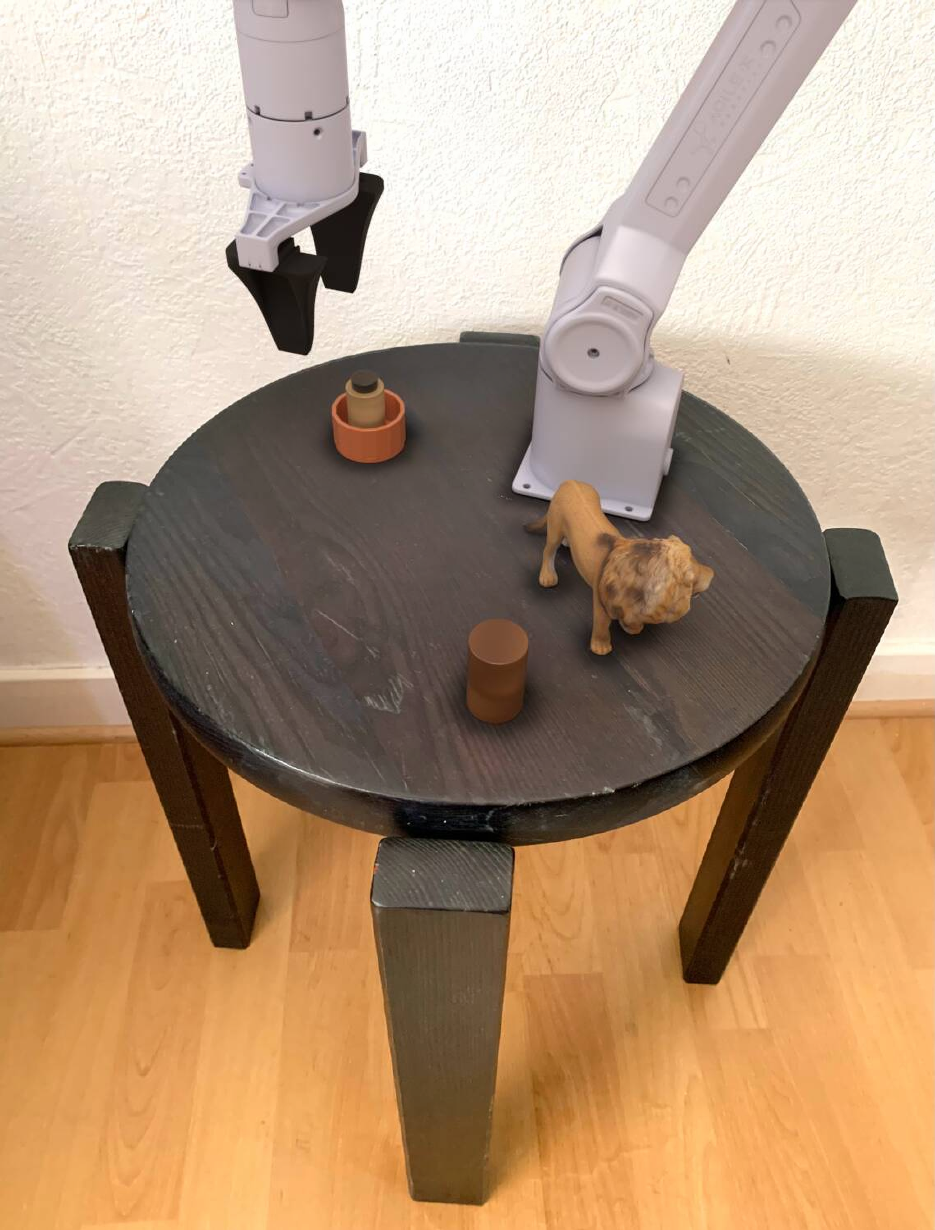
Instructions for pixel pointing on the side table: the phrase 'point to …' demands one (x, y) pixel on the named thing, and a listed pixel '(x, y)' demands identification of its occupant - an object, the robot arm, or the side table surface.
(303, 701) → the side table surface
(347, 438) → the terracotta crock
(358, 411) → the pepper mill
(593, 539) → the lion figurine
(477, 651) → the brown cylinder
